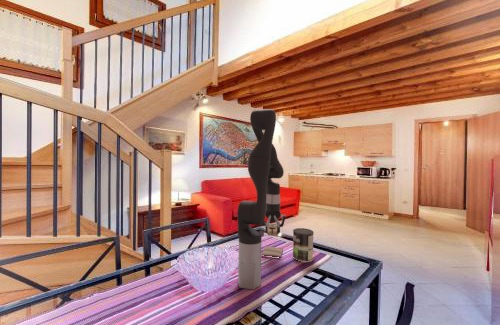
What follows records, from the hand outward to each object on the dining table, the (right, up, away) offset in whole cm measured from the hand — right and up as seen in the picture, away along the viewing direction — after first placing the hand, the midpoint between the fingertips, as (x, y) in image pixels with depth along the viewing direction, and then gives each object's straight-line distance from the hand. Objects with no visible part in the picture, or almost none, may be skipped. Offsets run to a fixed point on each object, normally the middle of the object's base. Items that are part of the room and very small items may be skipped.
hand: (272, 233), depth 126 cm
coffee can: (+15, -11, -6) cm, 19 cm away
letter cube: (0, 0, 0) cm, 0 cm away
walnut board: (0, -11, 0) cm, 11 cm away
